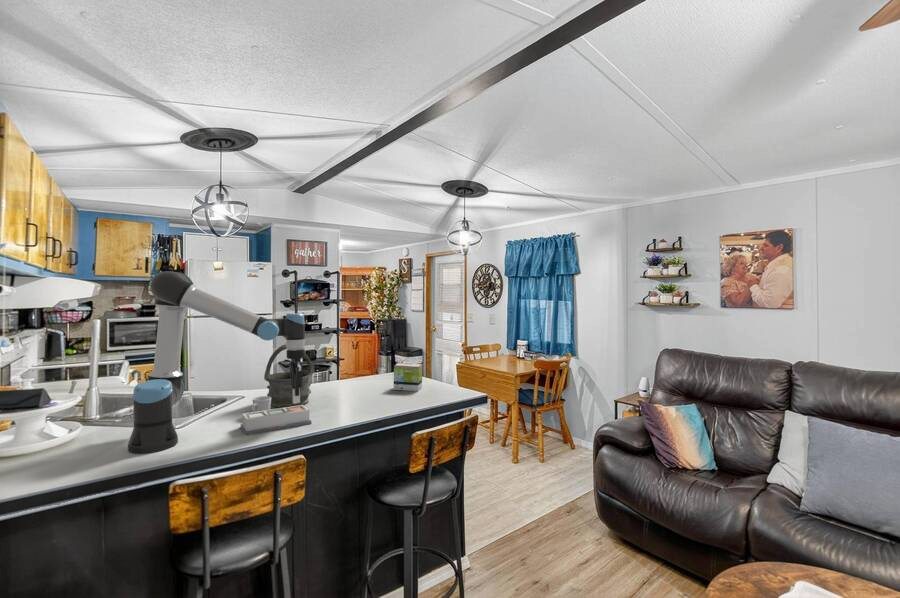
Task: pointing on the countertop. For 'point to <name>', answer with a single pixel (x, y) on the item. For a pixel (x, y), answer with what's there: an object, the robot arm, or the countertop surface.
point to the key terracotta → (294, 409)
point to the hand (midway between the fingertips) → (296, 402)
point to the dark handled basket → (286, 384)
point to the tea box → (408, 376)
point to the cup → (261, 403)
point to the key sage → (276, 412)
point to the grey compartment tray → (275, 420)
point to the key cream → (255, 415)
